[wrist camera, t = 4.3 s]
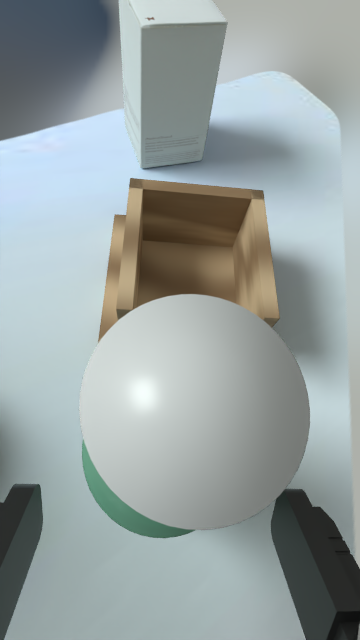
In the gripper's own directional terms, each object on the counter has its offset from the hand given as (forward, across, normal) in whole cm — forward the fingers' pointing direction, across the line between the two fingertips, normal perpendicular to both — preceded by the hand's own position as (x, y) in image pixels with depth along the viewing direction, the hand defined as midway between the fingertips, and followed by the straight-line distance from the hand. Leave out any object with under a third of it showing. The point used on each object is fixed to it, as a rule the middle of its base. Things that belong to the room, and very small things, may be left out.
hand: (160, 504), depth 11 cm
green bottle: (+10, 0, +8) cm, 13 cm away
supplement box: (+34, +1, -16) cm, 37 cm away
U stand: (+20, -2, -2) cm, 21 cm away
